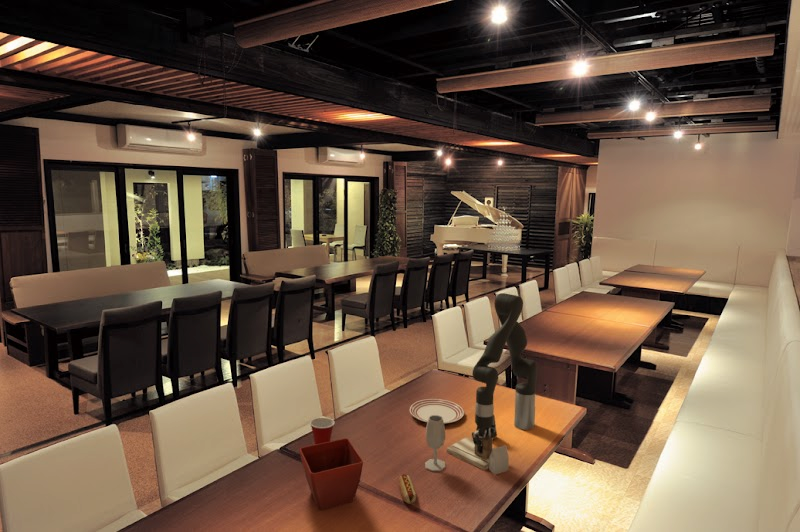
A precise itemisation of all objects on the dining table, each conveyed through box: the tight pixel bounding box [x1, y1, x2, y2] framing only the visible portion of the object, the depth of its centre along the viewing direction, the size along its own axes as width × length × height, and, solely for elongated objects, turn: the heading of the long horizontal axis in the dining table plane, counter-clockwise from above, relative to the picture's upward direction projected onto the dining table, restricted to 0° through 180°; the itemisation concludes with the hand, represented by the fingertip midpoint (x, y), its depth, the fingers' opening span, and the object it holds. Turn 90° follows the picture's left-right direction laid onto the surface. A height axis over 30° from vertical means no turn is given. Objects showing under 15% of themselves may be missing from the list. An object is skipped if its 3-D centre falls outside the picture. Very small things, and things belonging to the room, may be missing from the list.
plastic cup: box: [309, 417, 335, 445], centre depth 216 cm, size 11×11×12 cm
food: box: [398, 473, 417, 504], centre depth 183 cm, size 14×6×5 cm, turn 11°
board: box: [446, 436, 494, 471], centre depth 210 cm, size 14×20×2 cm
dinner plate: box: [409, 398, 465, 425], centre depth 248 cm, size 27×27×3 cm
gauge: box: [474, 436, 493, 459], centre depth 206 cm, size 4×8×8 cm, turn 44°
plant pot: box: [299, 437, 364, 511], centre depth 180 cm, size 19×19×17 cm
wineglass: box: [424, 415, 446, 472], centre depth 200 cm, size 9×9×21 cm
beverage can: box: [490, 413, 498, 440], centre depth 225 cm, size 6×7×12 cm
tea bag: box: [488, 444, 510, 475], centre depth 198 cm, size 4×7×10 cm, turn 116°
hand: (483, 450), depth 206 cm, fingers closed on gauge, 4 cm apart
